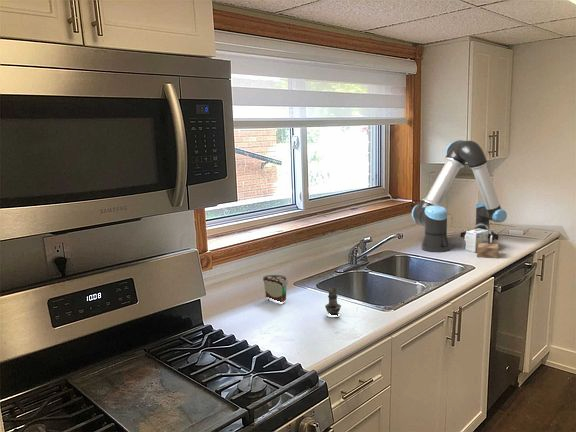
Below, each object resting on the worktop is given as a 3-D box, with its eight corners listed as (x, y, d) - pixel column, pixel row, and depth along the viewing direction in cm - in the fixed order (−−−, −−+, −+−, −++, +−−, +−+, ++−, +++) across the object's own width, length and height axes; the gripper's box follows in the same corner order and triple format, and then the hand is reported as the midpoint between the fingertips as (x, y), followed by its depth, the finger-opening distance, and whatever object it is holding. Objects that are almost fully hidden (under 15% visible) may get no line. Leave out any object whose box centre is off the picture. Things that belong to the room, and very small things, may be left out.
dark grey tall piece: (335, 311, 178) (334, 280, 176) (344, 316, 173) (343, 284, 170) (322, 314, 175) (321, 283, 173) (331, 319, 170) (330, 288, 168)
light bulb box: (477, 246, 260) (478, 227, 258) (488, 249, 254) (489, 230, 252) (464, 250, 255) (465, 230, 252) (475, 252, 249) (476, 233, 247)
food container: (295, 301, 189) (294, 278, 188) (284, 306, 185) (283, 281, 183) (274, 295, 198) (273, 272, 196) (263, 299, 194) (262, 276, 192)
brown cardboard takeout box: (476, 257, 241) (477, 247, 240) (477, 252, 250) (478, 242, 249) (498, 258, 237) (498, 248, 236) (498, 253, 246) (498, 243, 245)
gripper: (503, 238, 265) (502, 247, 246) (458, 236, 276) (453, 244, 257) (504, 226, 264) (503, 233, 245) (458, 223, 274) (454, 230, 255)
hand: (478, 239), depth 251 cm, fingers open, 12 cm apart
